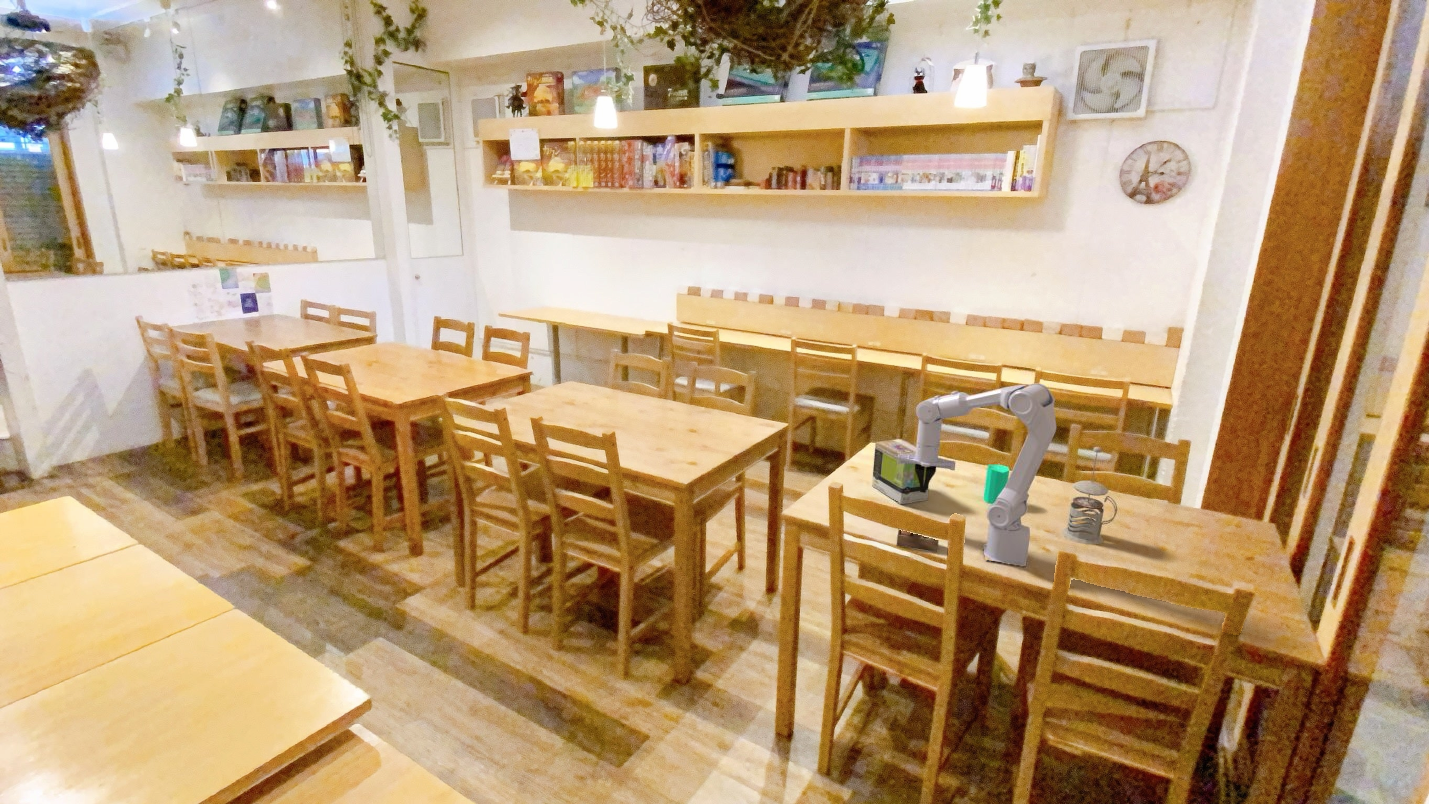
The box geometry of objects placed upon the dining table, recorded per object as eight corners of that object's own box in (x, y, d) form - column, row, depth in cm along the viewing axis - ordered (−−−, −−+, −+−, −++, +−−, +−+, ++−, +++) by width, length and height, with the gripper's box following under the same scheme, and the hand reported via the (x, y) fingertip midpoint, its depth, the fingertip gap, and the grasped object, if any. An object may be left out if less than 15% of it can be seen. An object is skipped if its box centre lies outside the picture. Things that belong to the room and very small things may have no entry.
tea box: (928, 500, 204) (933, 453, 199) (900, 505, 200) (904, 457, 196) (897, 481, 217) (901, 437, 213) (870, 486, 213) (874, 441, 209)
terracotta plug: (913, 535, 179) (914, 522, 178) (912, 541, 176) (913, 529, 175) (899, 533, 180) (900, 520, 179) (898, 539, 177) (899, 526, 176)
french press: (1066, 523, 190) (1081, 437, 183) (1114, 536, 183) (1131, 448, 176) (1057, 536, 183) (1072, 447, 175) (1106, 550, 175) (1123, 458, 168)
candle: (981, 502, 203) (986, 464, 199) (984, 494, 208) (989, 457, 204) (1003, 506, 200) (1009, 468, 197) (1005, 498, 205) (1011, 461, 202)
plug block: (937, 544, 178) (939, 533, 177) (937, 552, 174) (938, 541, 173) (897, 538, 181) (898, 527, 180) (896, 545, 177) (897, 535, 176)
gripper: (898, 444, 179) (893, 493, 183) (957, 451, 175) (951, 500, 178) (900, 436, 185) (896, 483, 189) (957, 442, 181) (951, 490, 185)
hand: (923, 491), depth 184 cm, fingers closed
